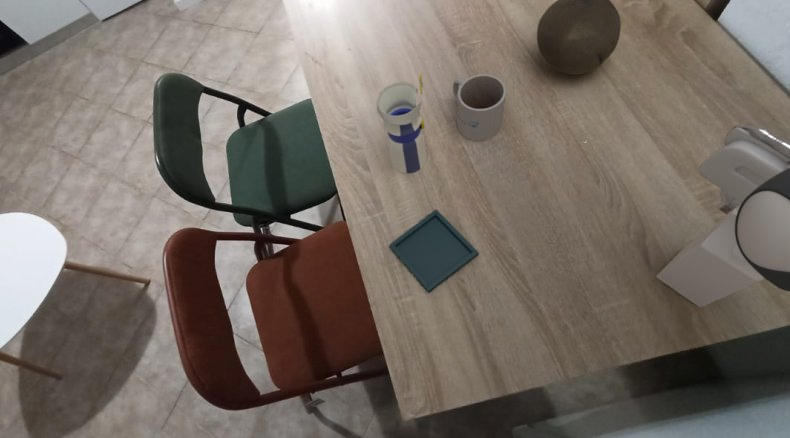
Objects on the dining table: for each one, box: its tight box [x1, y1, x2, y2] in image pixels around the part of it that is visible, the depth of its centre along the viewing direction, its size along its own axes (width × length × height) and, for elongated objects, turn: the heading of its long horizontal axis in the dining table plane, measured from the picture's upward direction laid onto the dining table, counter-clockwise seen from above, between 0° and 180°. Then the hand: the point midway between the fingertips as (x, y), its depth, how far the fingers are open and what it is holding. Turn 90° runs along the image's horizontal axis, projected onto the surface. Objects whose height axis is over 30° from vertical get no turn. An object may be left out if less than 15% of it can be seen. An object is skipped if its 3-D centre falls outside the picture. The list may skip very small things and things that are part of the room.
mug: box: [452, 73, 507, 142], centre depth 88 cm, size 12×9×10 cm
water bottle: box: [376, 73, 428, 174], centre depth 82 cm, size 8×9×25 cm
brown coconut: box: [536, 0, 622, 75], centre depth 85 cm, size 14×14×15 cm
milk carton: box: [655, 209, 765, 308], centre depth 62 cm, size 7×7×19 cm
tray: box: [388, 209, 480, 294], centre depth 83 cm, size 12×12×2 cm
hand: (762, 233), depth 54 cm, fingers open, 8 cm apart
